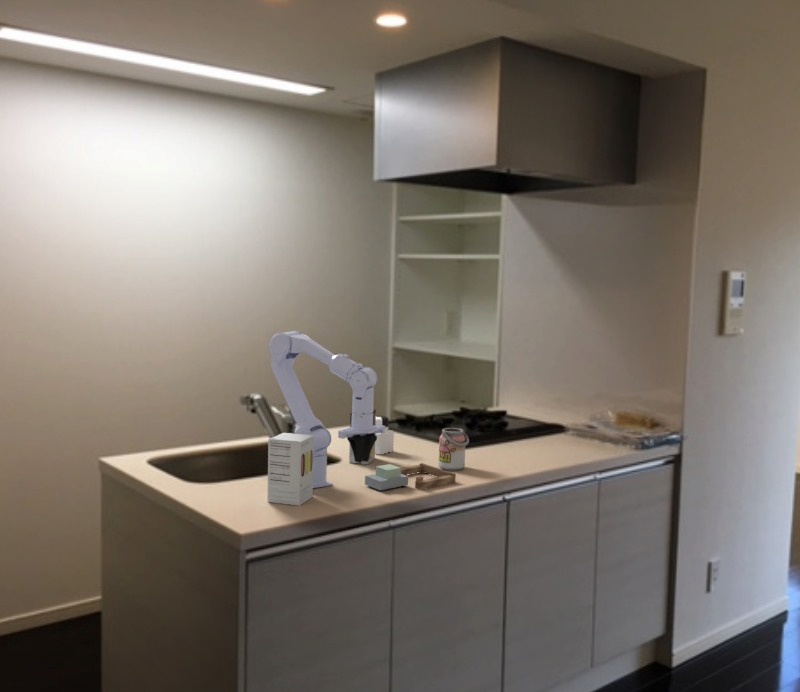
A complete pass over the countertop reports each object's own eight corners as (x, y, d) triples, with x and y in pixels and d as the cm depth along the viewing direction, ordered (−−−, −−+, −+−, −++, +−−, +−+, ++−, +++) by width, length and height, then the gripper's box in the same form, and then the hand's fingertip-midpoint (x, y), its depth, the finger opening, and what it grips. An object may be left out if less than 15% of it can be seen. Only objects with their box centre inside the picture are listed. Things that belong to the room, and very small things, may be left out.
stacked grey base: (380, 492, 220) (380, 472, 219) (364, 486, 225) (365, 467, 225) (408, 486, 226) (408, 467, 225) (392, 481, 231) (393, 462, 231)
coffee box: (356, 456, 260) (357, 407, 258) (375, 458, 259) (376, 409, 257) (348, 463, 251) (349, 412, 249) (368, 464, 250) (369, 414, 248)
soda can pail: (472, 469, 248) (474, 431, 246) (453, 473, 242) (455, 434, 241) (451, 463, 254) (453, 426, 253) (432, 467, 249) (433, 429, 248)
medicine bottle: (377, 448, 273) (378, 413, 272) (393, 451, 268) (394, 416, 267) (363, 451, 267) (364, 416, 266) (379, 455, 263) (380, 419, 262)
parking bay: (419, 490, 223) (420, 477, 222) (384, 477, 235) (384, 465, 235) (456, 482, 232) (456, 470, 231) (420, 470, 244) (421, 459, 244)
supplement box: (299, 506, 205) (300, 441, 203) (266, 502, 207) (267, 438, 205) (313, 496, 214) (314, 434, 212) (281, 492, 216) (282, 431, 215)
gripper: (349, 417, 210) (348, 467, 211) (392, 412, 219) (391, 460, 221) (334, 413, 216) (333, 462, 217) (377, 408, 225) (375, 455, 226)
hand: (361, 461), depth 219 cm, fingers closed
